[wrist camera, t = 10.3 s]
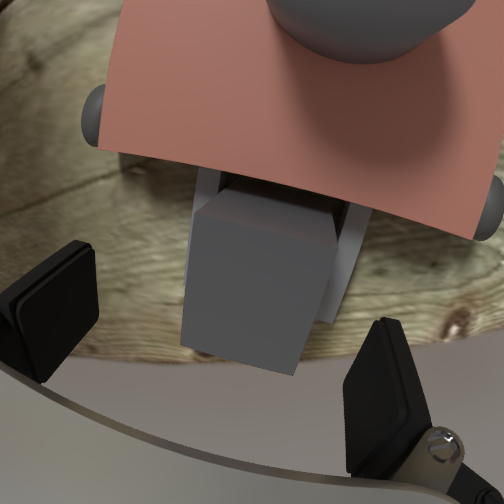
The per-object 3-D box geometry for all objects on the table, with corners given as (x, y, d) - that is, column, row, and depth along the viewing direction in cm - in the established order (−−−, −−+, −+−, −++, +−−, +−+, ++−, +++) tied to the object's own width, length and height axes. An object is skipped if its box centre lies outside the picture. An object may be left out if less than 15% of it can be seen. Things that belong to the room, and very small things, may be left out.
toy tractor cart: (171, -84, 11) (101, -151, 3) (503, -14, 9) (582, -56, 1) (109, 249, 21) (19, 319, 12) (417, 329, 19) (454, 438, 11)
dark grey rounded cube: (238, 178, 17) (194, 212, 11) (329, 199, 17) (338, 248, 11) (221, 274, 20) (180, 344, 13) (301, 294, 19) (292, 375, 13)
